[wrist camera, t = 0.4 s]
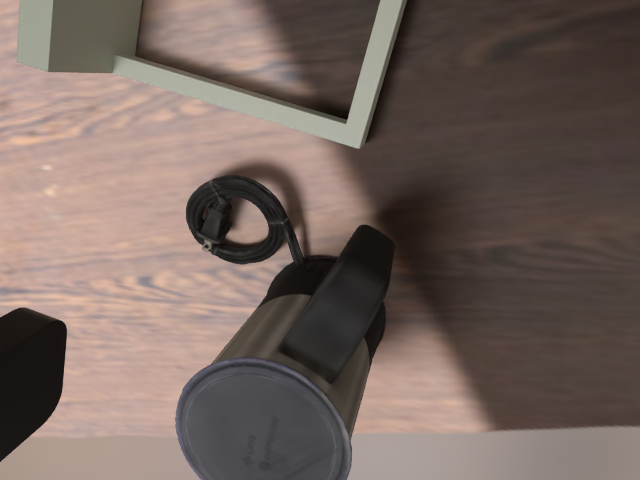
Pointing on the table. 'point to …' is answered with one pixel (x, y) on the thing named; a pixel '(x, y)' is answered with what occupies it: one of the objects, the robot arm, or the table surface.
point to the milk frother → (285, 351)
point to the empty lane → (119, 58)
